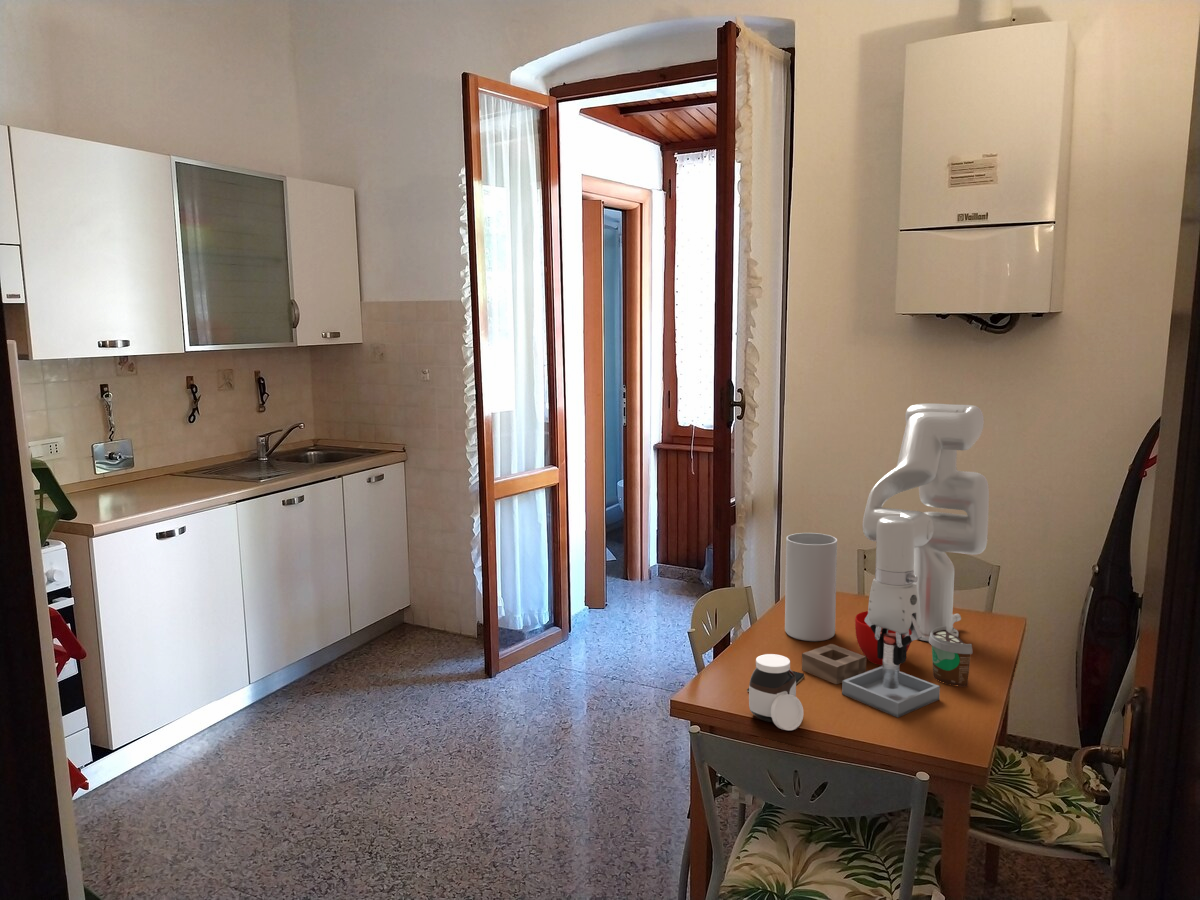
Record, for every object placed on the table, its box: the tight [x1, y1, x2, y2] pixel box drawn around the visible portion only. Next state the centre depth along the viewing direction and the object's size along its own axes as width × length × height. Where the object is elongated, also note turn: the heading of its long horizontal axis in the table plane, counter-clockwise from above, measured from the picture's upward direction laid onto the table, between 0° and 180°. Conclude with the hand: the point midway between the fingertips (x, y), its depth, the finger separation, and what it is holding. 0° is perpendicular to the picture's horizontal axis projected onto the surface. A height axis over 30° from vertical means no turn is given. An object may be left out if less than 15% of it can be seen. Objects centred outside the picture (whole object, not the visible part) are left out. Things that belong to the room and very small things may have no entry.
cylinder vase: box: [784, 532, 838, 642], centre depth 218 cm, size 12×12×25 cm
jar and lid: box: [748, 653, 804, 731], centre depth 172 cm, size 12×11×12 cm
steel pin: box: [882, 633, 901, 689], centre depth 180 cm, size 3×3×11 cm
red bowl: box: [854, 610, 912, 666], centre depth 202 cm, size 13×17×10 cm
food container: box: [928, 626, 973, 687], centre depth 190 cm, size 12×6×10 cm, turn 5°
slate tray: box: [841, 665, 941, 719], centre depth 181 cm, size 14×14×3 cm
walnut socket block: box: [801, 643, 867, 685], centre depth 195 cm, size 10×10×4 cm
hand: (891, 659), depth 180 cm, fingers closed on steel pin, 3 cm apart
